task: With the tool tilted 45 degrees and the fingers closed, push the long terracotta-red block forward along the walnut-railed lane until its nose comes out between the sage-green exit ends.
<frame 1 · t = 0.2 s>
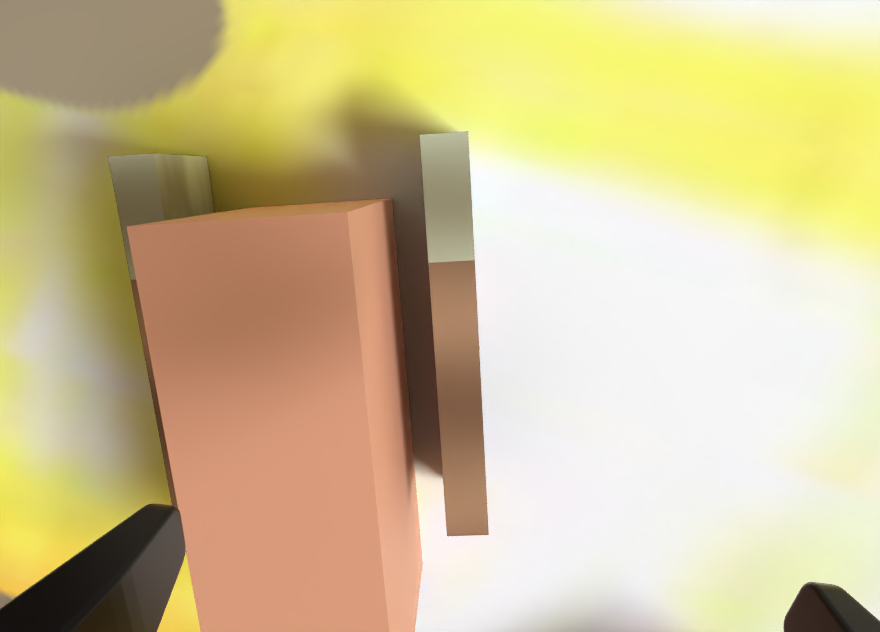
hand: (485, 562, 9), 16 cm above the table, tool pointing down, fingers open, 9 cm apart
lane: (335, 327, 24), on the table
block: (343, 395, 25), on the table
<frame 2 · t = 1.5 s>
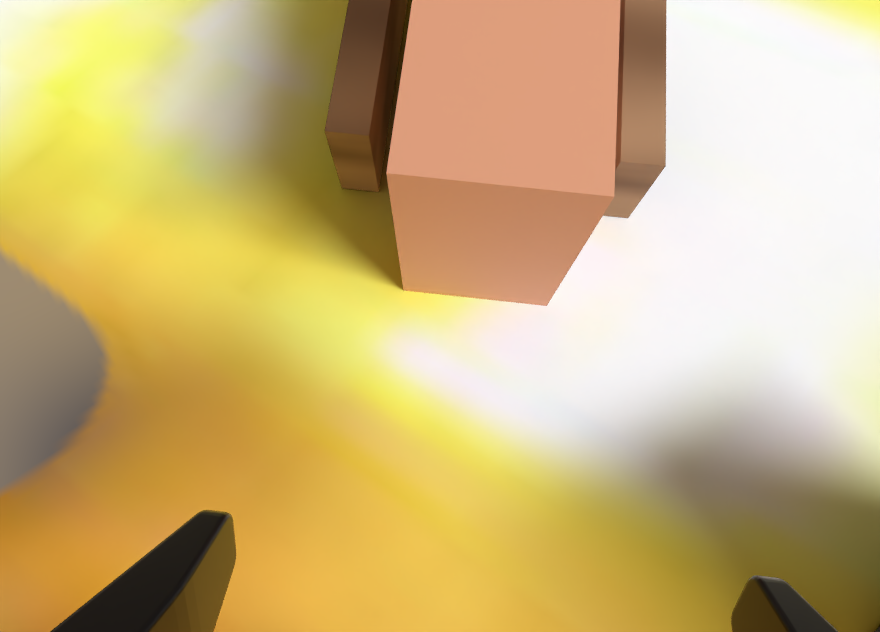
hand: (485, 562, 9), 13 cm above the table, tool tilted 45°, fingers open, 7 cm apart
lane: (498, 56, 26), on the table
block: (492, 119, 25), on the table
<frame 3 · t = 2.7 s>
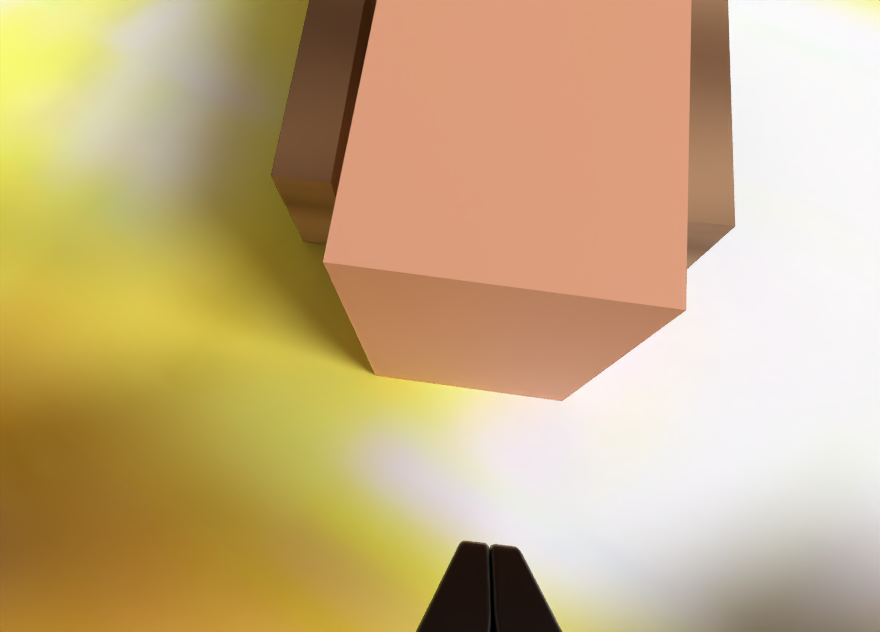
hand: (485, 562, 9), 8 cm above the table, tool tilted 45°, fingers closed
lane: (505, 73, 21), on the table
block: (497, 152, 20), on the table
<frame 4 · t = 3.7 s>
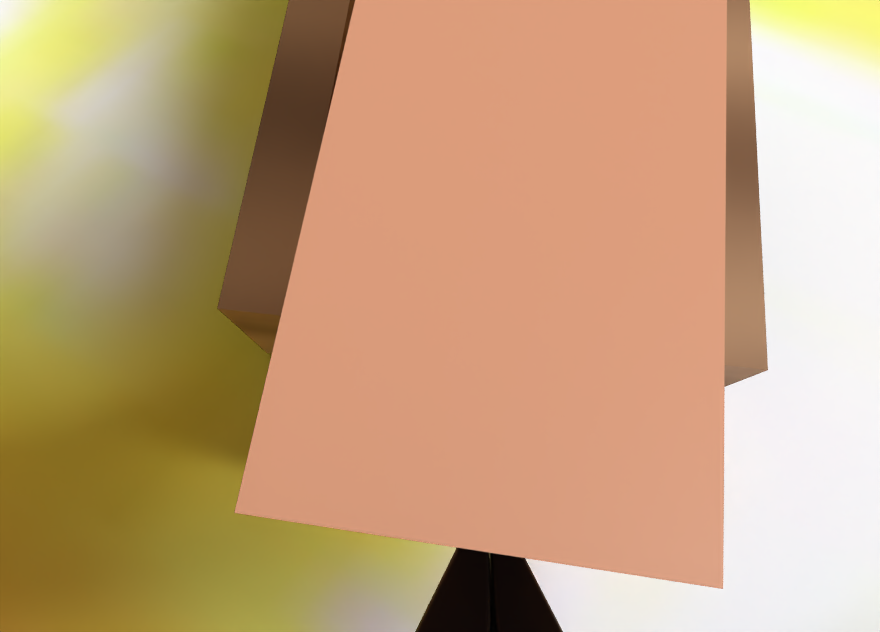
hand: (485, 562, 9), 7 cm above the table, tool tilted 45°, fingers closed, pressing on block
lane: (497, 152, 18), on the table
block: (488, 237, 18), on the table, touching gripper
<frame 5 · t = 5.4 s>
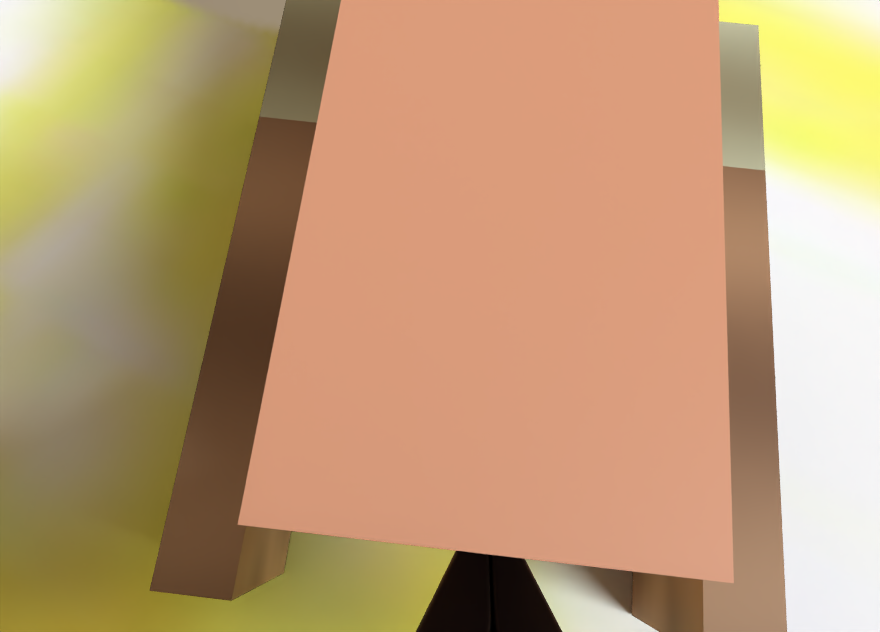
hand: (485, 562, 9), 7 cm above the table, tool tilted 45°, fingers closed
lane: (483, 319, 17), on the table
block: (482, 233, 18), on the table
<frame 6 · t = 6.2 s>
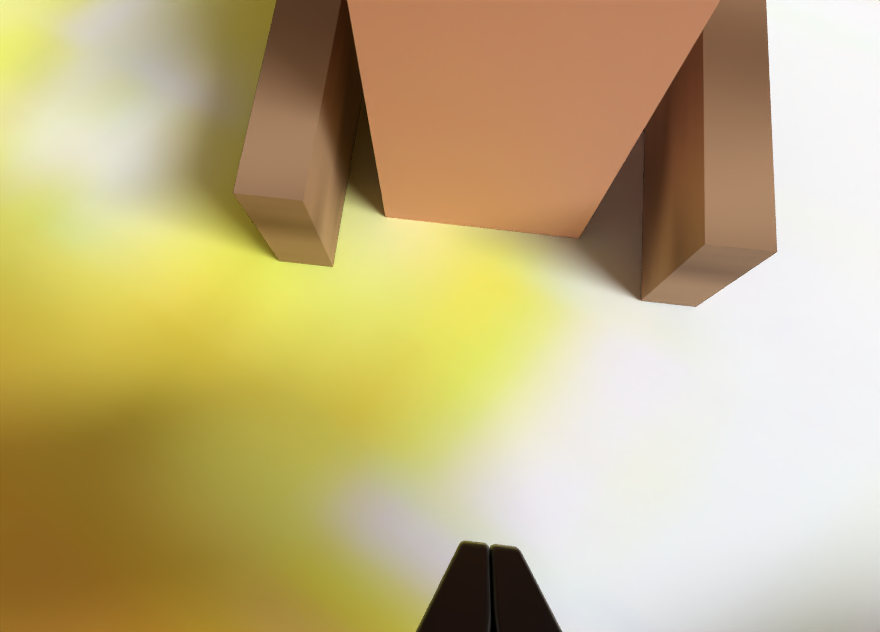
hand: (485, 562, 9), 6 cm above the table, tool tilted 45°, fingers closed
lane: (506, 68, 18), on the table
block: (505, 0, 19), on the table
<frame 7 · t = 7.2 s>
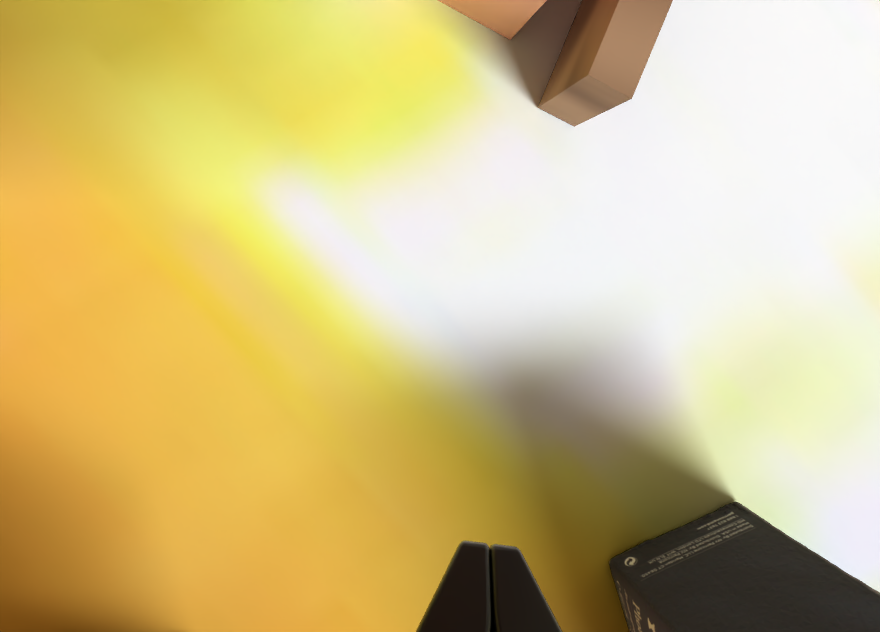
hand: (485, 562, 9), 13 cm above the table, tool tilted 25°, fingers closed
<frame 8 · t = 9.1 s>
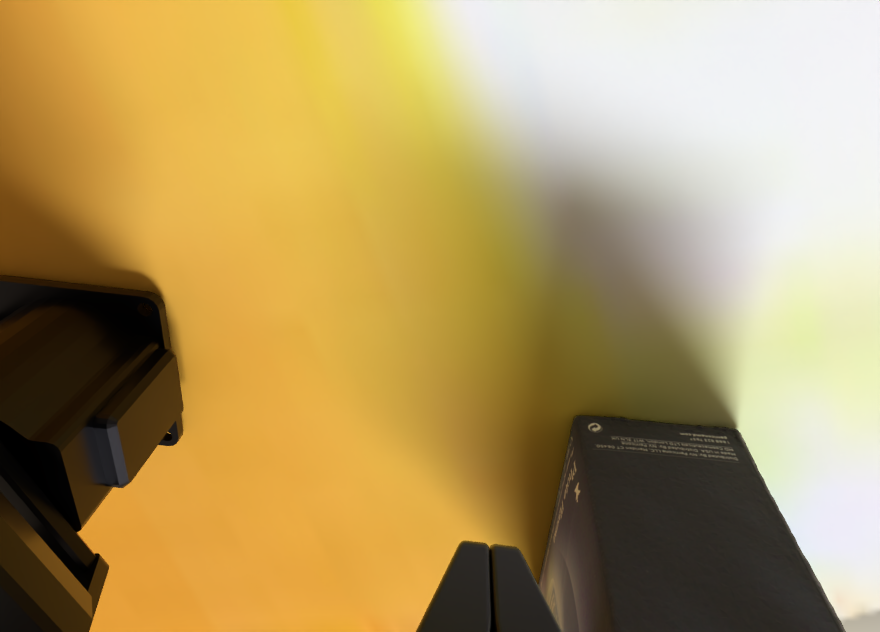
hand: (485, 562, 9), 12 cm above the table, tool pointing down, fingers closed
small box: (622, 515, 25), on the table
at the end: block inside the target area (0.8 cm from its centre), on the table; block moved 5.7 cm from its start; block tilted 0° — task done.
